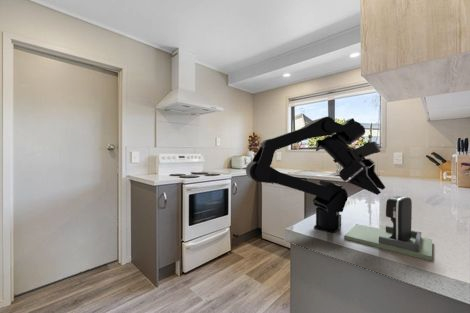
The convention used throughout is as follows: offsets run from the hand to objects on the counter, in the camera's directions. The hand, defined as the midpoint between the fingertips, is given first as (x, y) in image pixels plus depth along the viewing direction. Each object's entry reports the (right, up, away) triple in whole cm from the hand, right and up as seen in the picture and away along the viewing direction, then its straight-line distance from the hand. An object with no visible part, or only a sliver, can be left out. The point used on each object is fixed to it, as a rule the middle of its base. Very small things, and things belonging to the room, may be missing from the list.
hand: (381, 191), depth 60 cm
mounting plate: (0, -13, -2) cm, 13 cm away
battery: (+2, -13, -3) cm, 13 cm away
